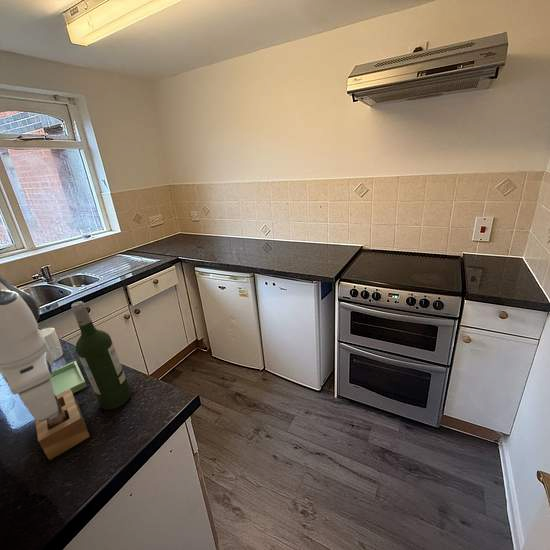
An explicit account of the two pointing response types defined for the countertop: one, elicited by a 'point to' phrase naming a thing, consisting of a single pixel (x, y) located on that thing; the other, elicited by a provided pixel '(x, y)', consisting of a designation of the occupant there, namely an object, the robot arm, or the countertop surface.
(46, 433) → the holder
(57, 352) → the white cup
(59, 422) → the canister
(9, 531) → the countertop surface
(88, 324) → the wine bottle
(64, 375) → the tray
